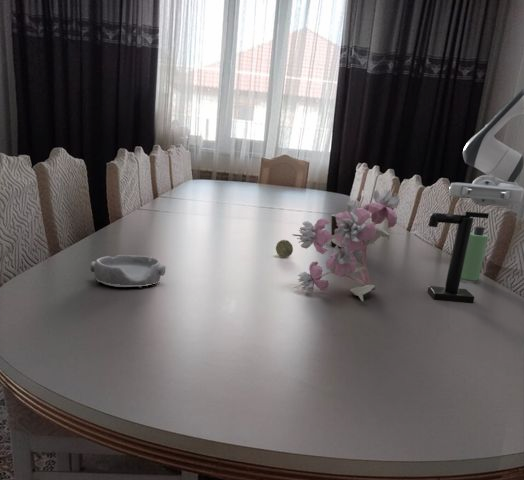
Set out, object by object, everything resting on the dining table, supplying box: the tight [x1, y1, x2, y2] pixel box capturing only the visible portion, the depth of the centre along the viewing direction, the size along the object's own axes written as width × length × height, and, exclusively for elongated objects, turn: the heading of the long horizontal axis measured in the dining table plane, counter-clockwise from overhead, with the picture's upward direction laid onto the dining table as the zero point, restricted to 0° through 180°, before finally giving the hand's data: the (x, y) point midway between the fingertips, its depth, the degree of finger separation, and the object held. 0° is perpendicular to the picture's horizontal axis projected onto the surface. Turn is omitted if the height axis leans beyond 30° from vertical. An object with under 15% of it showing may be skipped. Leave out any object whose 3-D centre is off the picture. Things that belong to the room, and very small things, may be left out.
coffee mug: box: [330, 213, 366, 249], centre depth 174 cm, size 12×9×10 cm
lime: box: [275, 239, 294, 259], centre depth 152 cm, size 4×5×5 cm
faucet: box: [427, 210, 490, 304], centre depth 119 cm, size 12×7×20 cm, turn 85°
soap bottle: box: [460, 225, 489, 282], centre depth 141 cm, size 5×5×14 cm
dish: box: [90, 254, 167, 289], centre depth 114 cm, size 14×14×5 cm
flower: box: [291, 184, 401, 302], centre depth 115 cm, size 20×22×25 cm
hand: (485, 193), depth 146 cm, fingers open, 8 cm apart
